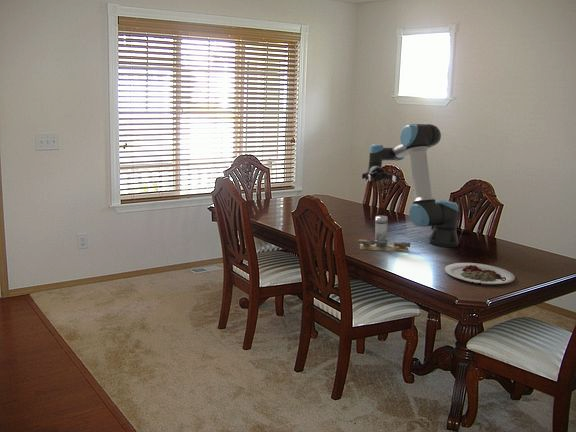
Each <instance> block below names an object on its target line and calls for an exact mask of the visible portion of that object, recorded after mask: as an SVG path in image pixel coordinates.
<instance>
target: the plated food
mask: <svg viewBox="0 0 576 432" xmlns="http://www.w3.org/2000/svg"><path fill="white" fill-rule="evenodd" d="M444 272H445V273H446V274H448V275H449V276H451V277H453V278H456V279H459V280H462V281H465V282H467V283H472V282H473V284H478V283H481V284H480V285H503V284H509V283H512V282H513V281H515V278H516V277H515V275H514V274H513V273H512V272H510V271H508V270H506V269H504V268H502V267H498V266H494V265H490V264H484V263H475V262H455V263H452V264H451V263H450V264H448V265H446V266H445V267H444ZM503 277H505V278H506V280H505V279H504V278H503ZM501 279H502V280H505V281H502V280H501Z"/></svg>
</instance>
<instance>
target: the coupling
mask: <svg viewBox="0 0 576 432" xmlns="http://www.w3.org/2000/svg"><path fill="white" fill-rule="evenodd" d="M374 220H375V221H374V223H375V229H374V230H375V231H374V232H375V233H374V235H375V236H374V241H375V246H377V247H386V246H387V245H388V223H389V222H388V221H389V219H388V216H386V215H375V219H374Z"/></svg>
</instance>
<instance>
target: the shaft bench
mask: <svg viewBox="0 0 576 432" xmlns="http://www.w3.org/2000/svg"><path fill="white" fill-rule="evenodd" d="M358 244H359V250H369V251H382V252H396V253H397V252H398V253H409V248H411V242H403V241H402V242H401V241H399V242H398V241H394V242H393V244H387V246H386V247H377V246H375V240H369V239H358Z"/></svg>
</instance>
